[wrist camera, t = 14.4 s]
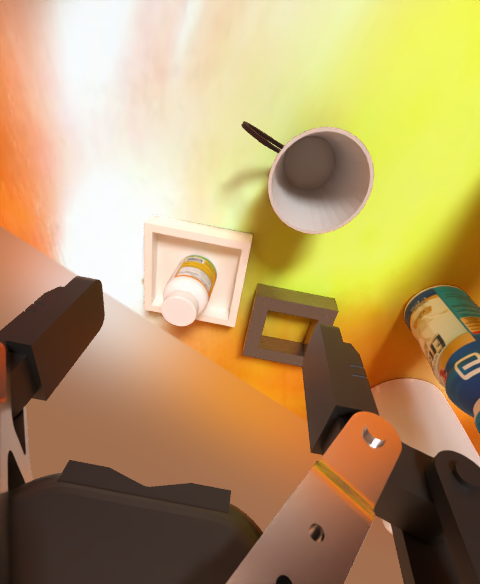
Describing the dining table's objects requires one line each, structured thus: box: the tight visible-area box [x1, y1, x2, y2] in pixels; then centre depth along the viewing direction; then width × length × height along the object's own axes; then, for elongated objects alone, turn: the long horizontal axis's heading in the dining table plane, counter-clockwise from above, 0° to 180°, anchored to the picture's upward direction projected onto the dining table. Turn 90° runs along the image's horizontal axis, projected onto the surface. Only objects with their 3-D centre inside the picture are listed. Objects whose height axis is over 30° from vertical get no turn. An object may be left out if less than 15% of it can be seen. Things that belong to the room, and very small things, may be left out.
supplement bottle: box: [161, 254, 217, 326], centre depth 38 cm, size 5×5×10 cm
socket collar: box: [242, 284, 338, 367], centre depth 45 cm, size 11×11×3 cm
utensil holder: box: [371, 378, 480, 534], centre depth 46 cm, size 15×15×18 cm
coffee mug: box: [242, 121, 374, 234], centre depth 29 cm, size 12×9×10 cm
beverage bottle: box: [404, 285, 480, 433], centre depth 34 cm, size 8×8×20 cm
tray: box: [144, 214, 253, 327], centre depth 41 cm, size 13×13×3 cm
